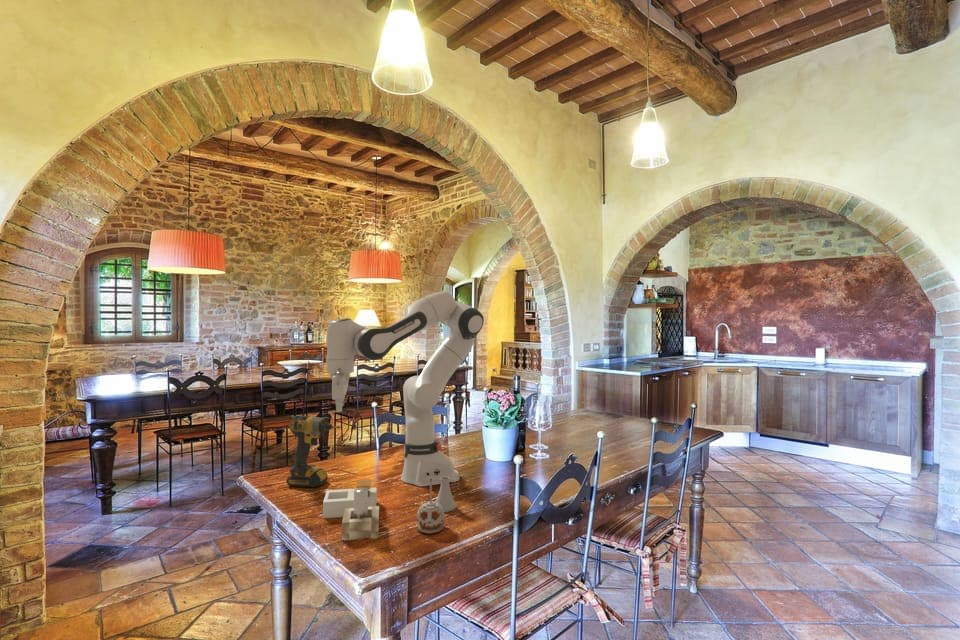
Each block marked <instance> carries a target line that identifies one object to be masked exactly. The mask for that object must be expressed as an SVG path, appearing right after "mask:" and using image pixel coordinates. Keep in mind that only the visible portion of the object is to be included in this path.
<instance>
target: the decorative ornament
mask: <svg viewBox="0 0 960 640" xmlns="http://www.w3.org/2000/svg"><path fill="white" fill-rule="evenodd" d="M435 502H436V500H435V501H433V485H432V478H430V485H429V501H426V502H424V503H423V504H421V505H420V506H419V508H418V510H417V512H416V522H418V523H417V525H416V529H418V530H417V531H419V532H421V533H425V534H434V533H438V532H440V531H442V530H443V529H444V528H445V523H443V522H444V521H445V512H444V511H443V509H442V507H441V505H439V503H435Z"/></svg>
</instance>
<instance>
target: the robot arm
mask: <svg viewBox="0 0 960 640" xmlns="http://www.w3.org/2000/svg"><path fill="white" fill-rule="evenodd" d="M484 321H485V320H484V316H483V314H482V313H481V312H480V310H478V309H477V308H475V307H472V306H471V305H469V304H467V303H465V302H461V301H457V300H456V299H455V298H454V296H453V295H452V294H451V293H450V292H448V291H445V290H442V291H437V292H434V293H431V294H428V295H426V296H424V297H421V298H419V299H417V300H415V301H414V302H413V303H411V304H410V305H408V306H407V308H406V311H405V316H404V317H403V318H402V319H399V320H398V321H396V322H393V323H392V324H390V325H389V326H386V327H384V328H369V327H365V326H363V325H362V324H361V325H360V324H358V323H357V322H356V321H354V320H352V319H351V318H349V317H346V318H344V317H343V318H338V319H334V320H331V321H330V322H329V323H328V325H327V327H326V333H325V334H326V337H325V338H326V339H325V347H326V350H327V351H326V352H327V353H326V357H325V364H326V365H325V367H326V368H325V371H326V374H327V375H328V374H329V375H330V376H329V377H330V379H332V380H331V381H332V382H331V399H332V400H334V402H335V411H336V413H341V412H342V411H343V407H344V406H345V397H346V394H347V392H348V387H349V381H350V378H351V374H352V373H354V372H355V359H354V358H355V356H356V355H359V356H362V357H365V358H367V359H369V360H372V361H373V360H374V361H376V360H380V359H383V358H385V357H386V356H387V355H388V354H389V352H390V351H391V350H392V349H393V348H394V346H396V345H397V344H399V343H401V342H402V341H404V340H406V339H408V338H409V337H411V336H412V335H415V334H416V333H418V332H421V331H424V330H427V329H429V328H432V327H433V326H436V325H438V324H439V323H441V324H443V325H444V326H447V327H448V328H450V330H449V333H448V335H447V336H446V337H445V338H444V339H443V341H442V342H441V343H440V344H439V346H438V347H437V348H436V350H435V351H434V352H433V353H432V354H431V355H430V357H429V358H428V359H427V362H426V364H425V367H424V368H423V369H422V372H421V373H420V374H419V375H413V376H411V377H409V378H407V379H406V380H405V381H404V384H403V385H402V392H403V404H404V405H403V407H404V408H403V409H404V418H405V440H404V444H403V455H404V464H403V468H402V474H401V477H400V480H401V481H402V482H404V483H406V484H411V485H415V486H417V487H427V486H429V487H430V478H432V486H434V485H441V480H440V478H441V477H444V476H445V477H450V480H449V484H451V483H457V482H458V481H460V473H459V472H458V470H456V469H455V468H454V463H453V461H452V459H451V458H450V457H449V456H448V455H446V454H445V453H443V451H441V450H442V448H443V447H442V444H441V443H440V442H438V441H437V440H435V418H434V412H433V408H434V407H435V406H436V405H437V403H439V400H440V396H441V395H442V393H443V391H444V390H445V387H446V386H447V383H448V382H449V381H450V378H451V377H452V376H453V374H454V373H455V372H456V370H457V369H458V368H459V366H460V365H461V364H462V363H463V361H464V360H465V359H466V357H467V355H468V354H469V353H470V351H471V350H472V348H473V346H474V343H475V338H476V337H477V335H478V334H480V331H481V330H482V328H483V326H484ZM456 481H457V482H456ZM450 482H451V483H450Z"/></svg>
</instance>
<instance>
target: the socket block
mask: <svg viewBox="0 0 960 640" xmlns="http://www.w3.org/2000/svg"><path fill="white" fill-rule="evenodd" d="M355 489H356V488H347V489H346V488H345V489H327V490H326V492H325V495H324V498H323V502H322V519H333V518H343V515H344V510H345V508H354V490H355ZM377 490H378V489H377V486H376V487H371V488H370V489H369V497H368V507H372V506H377V497H378V496H377V495H378V494H377V492H378V491H377Z"/></svg>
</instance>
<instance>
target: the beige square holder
mask: <svg viewBox="0 0 960 640" xmlns="http://www.w3.org/2000/svg"><path fill="white" fill-rule="evenodd" d="M341 520H342V522H341V541H343V540H344V541H353V540H356V541H357V540H364V538H369V539H378V538H379V537H380V536H379V535H380V533H379V531H380V529H379V527H380V505H376V506H372V507H368V518H360V519H354V508H345V510H344V515H343V517H342V519H341Z"/></svg>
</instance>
